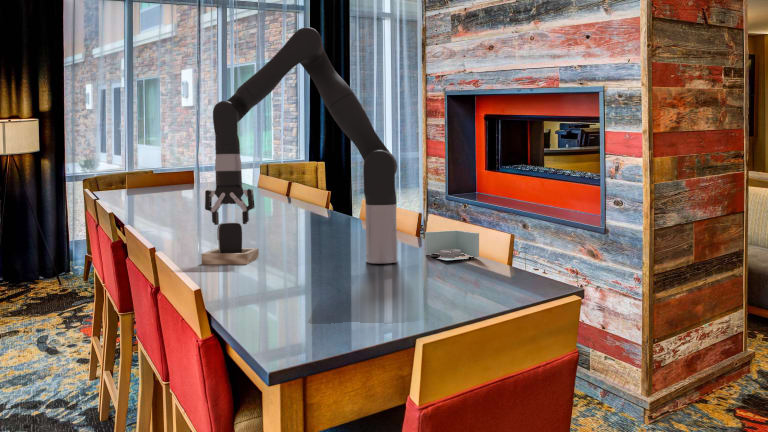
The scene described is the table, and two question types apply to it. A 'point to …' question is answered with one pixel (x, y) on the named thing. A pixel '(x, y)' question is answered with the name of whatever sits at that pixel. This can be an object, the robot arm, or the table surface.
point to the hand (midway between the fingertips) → (230, 224)
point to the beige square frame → (229, 257)
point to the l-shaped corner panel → (452, 244)
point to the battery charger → (229, 237)
